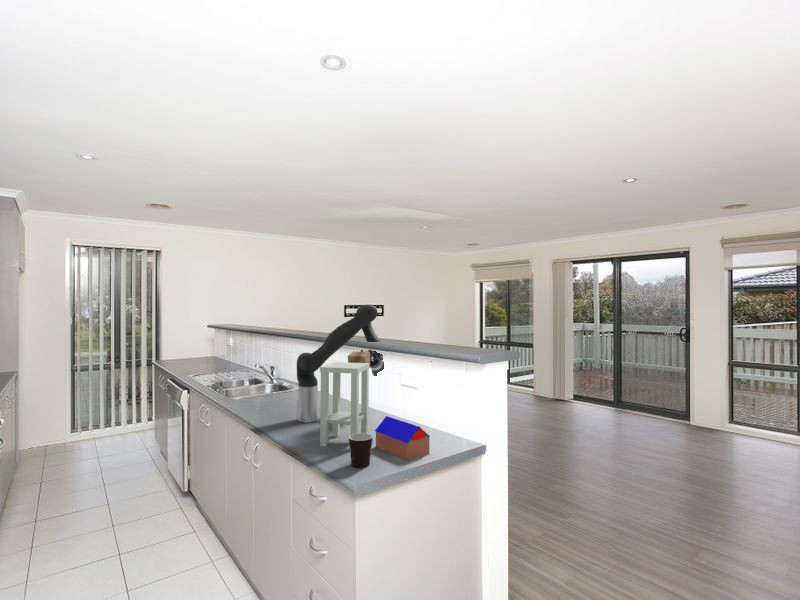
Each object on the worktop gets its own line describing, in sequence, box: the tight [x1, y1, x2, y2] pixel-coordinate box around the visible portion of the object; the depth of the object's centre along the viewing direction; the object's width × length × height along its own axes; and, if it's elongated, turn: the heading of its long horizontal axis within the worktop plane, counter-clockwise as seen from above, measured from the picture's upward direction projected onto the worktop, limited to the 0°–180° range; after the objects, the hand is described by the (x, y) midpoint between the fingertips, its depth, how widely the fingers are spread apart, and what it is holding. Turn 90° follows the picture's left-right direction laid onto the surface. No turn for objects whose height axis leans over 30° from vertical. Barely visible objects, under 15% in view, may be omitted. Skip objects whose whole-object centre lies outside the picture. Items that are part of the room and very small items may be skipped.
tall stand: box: [319, 361, 371, 448], centre depth 178 cm, size 16×16×32 cm
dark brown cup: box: [348, 432, 374, 469], centre depth 154 cm, size 12×9×10 cm
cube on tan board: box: [347, 348, 372, 363], centre depth 199 cm, size 8×20×6 cm, turn 168°
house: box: [374, 416, 431, 461], centre depth 169 cm, size 12×20×12 cm, turn 40°
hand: (365, 351), depth 203 cm, fingers closed on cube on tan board, 3 cm apart
